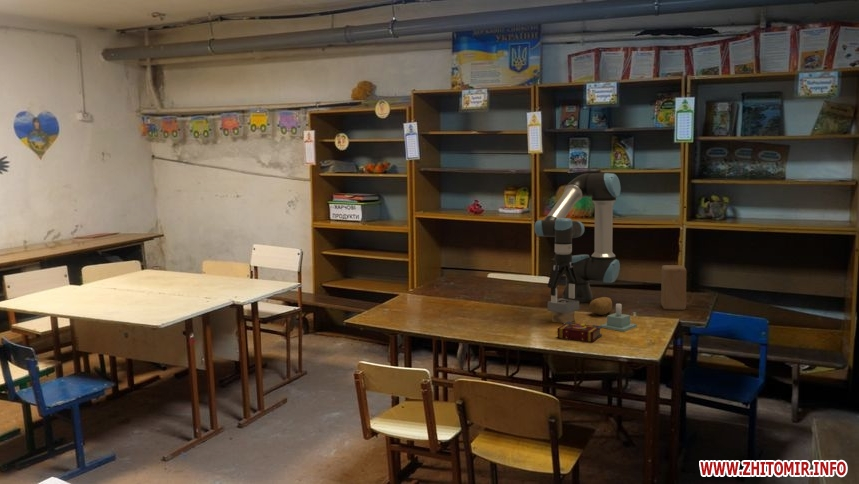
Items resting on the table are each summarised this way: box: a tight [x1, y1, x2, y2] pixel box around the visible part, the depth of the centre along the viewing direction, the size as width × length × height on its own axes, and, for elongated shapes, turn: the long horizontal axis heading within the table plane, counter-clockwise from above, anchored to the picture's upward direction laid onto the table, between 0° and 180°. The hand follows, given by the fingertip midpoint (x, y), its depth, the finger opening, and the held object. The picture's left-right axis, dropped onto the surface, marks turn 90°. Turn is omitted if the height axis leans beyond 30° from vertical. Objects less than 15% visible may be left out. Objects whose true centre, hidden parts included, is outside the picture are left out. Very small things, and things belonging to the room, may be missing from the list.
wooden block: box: [660, 264, 687, 311], centre depth 315 cm, size 10×10×20 cm
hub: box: [599, 303, 638, 333], centre depth 282 cm, size 11×11×10 cm
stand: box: [551, 301, 575, 324], centre depth 295 cm, size 7×7×9 cm
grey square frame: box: [547, 297, 580, 314], centre depth 295 cm, size 10×10×4 cm
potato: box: [589, 296, 613, 316], centre depth 306 cm, size 10×14×8 cm
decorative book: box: [556, 322, 603, 343], centre depth 269 cm, size 11×16×5 cm
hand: (563, 300), depth 294 cm, fingers open, 13 cm apart
